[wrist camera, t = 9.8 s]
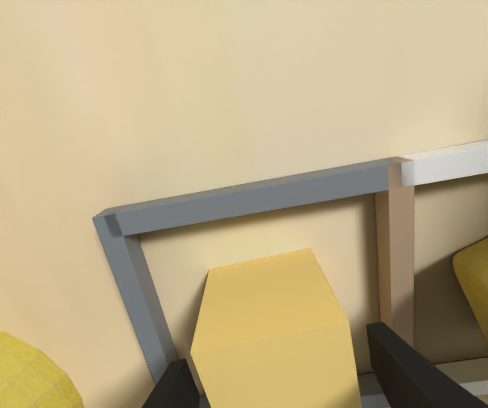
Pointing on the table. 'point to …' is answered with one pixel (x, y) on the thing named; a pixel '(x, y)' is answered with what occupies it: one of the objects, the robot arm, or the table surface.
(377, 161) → the sorting board
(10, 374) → the handbell
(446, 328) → the table surface
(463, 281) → the flower pot
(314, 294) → the ochre block
